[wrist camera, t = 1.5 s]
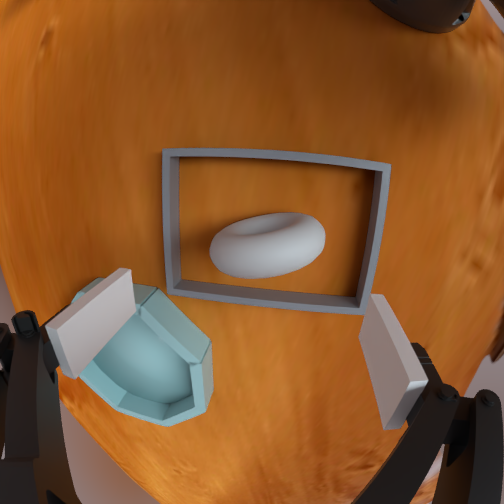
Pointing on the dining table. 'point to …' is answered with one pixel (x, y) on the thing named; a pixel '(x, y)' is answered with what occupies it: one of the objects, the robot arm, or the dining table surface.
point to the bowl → (153, 362)
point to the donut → (267, 245)
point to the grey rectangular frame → (265, 295)
